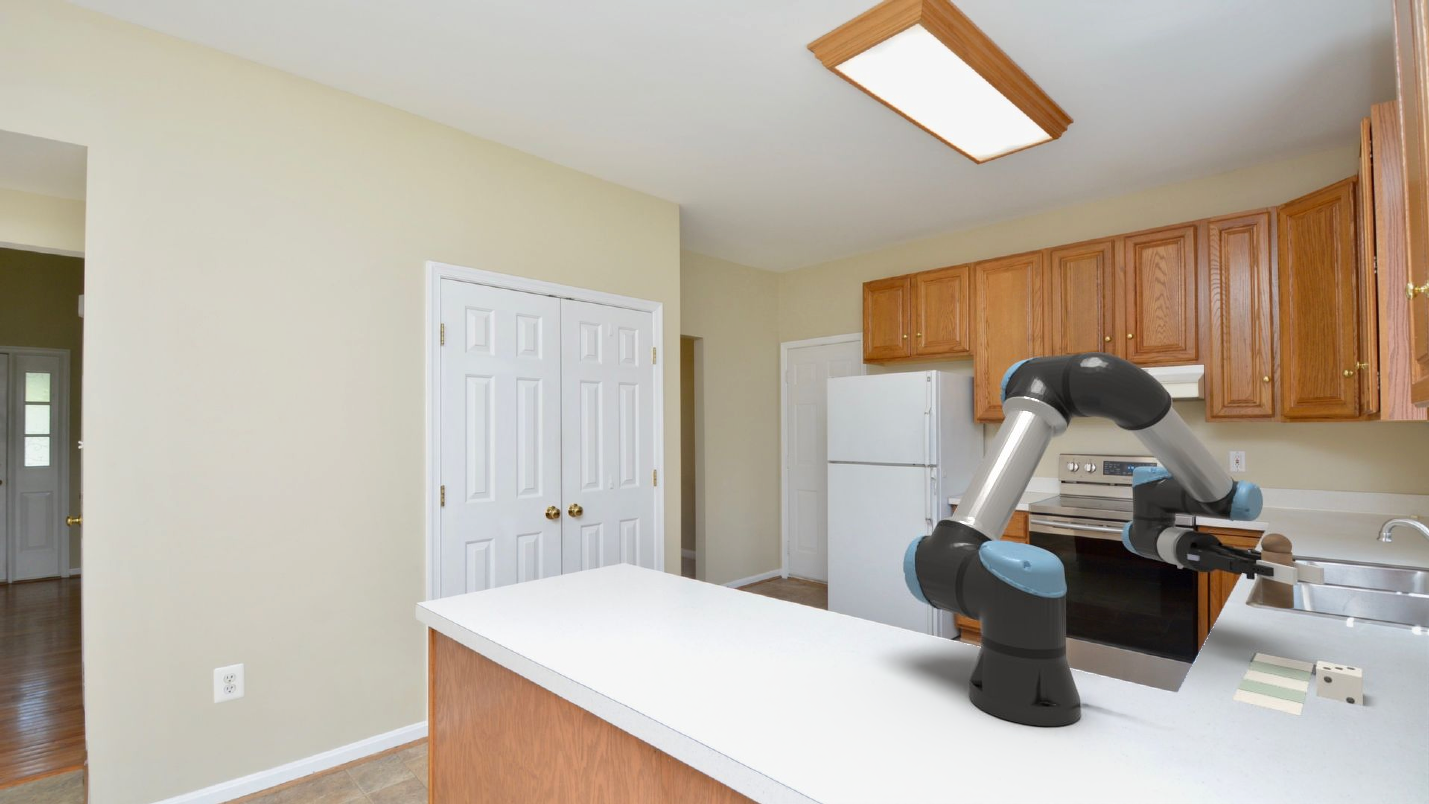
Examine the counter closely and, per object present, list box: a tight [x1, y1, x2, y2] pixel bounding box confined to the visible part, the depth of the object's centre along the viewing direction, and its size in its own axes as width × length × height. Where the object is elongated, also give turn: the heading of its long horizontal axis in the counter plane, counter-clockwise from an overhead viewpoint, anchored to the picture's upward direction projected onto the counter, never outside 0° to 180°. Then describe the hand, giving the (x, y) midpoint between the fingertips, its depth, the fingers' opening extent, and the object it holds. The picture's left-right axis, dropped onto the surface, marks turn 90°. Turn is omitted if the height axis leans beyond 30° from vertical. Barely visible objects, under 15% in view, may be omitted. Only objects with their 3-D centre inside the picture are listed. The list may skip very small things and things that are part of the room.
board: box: [1232, 652, 1317, 717], centre depth 106 cm, size 8×30×1 cm, turn 135°
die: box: [1315, 660, 1364, 707], centre depth 100 cm, size 5×5×5 cm
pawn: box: [1260, 532, 1295, 609], centre depth 111 cm, size 4×4×12 cm
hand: (1308, 576), depth 105 cm, fingers closed on pawn, 4 cm apart
